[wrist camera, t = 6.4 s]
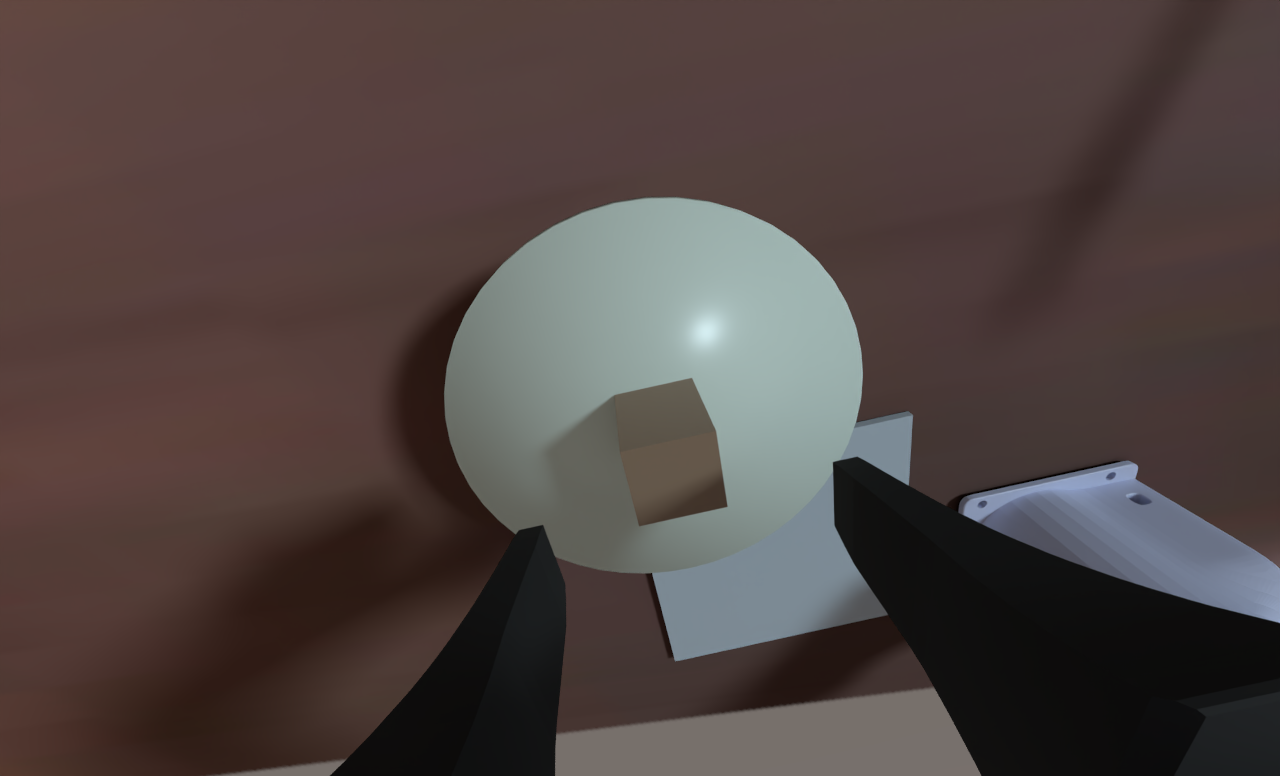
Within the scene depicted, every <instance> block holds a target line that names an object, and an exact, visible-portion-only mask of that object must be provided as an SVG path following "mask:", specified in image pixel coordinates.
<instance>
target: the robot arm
mask: <svg viewBox="0 0 1280 776" xmlns="http://www.w3.org/2000/svg"><path fill="white" fill-rule="evenodd" d="M1137 471H1138V466H1137V465H1136V464H1134V463H1132V462H1130V461H1123V462H1118V463H1114V464H1109V465H1105V466H1100V467H1095V468H1091V469H1086V470H1082V471H1077V472H1073V473H1068V474H1064V475H1059V476H1054V477H1050V478H1045V479H1041V480H1036V481H1032V482H1027V483H1022V484H1018V485H1013V486H1009V487H1004V488H1000V489H995V490H991V491H986V492H981V493H977V494H972V495H968V496H965V497H964V498H963V499H962V500H961V501H960V504H959V512H957V511H955V510H953V509H951V508H949V507H947V506H945V505H943V504H941V503H939V502H937V501H936V500H934V499H932V498H930V497H928V496H926V495H925V494H923V493H921V492H919V491H917V490H916V489H914V488H912V487H910V486H908V485H907V484H905V483H903V482H901V481H900V480H898V479H896V478H894V477H893V476H891V475H889V474H888V473H886V472H884V471H882V470H881V469H879V468H877V467H875V466H874V465H872V464H870V463H868V462H867V461H865V460H863V459H861V458H859V457H853V458H848V459H844V460H839V461H835V462H833V490H834V526H835V528H836V530H837V532H838V534H839V536H840V538H841V540H842V542H843V544H844V546H845V548H846V550H847V552H848V554H849V556H850V558H851V559H852V561H853V563H854V565H855V566H856V568H857V569H858V571H859V572H860V574H861V575H862V577H863V578H864V580H865V581H866V583H867V584H868V586H869V587H870V589H871V590H872V592H873V593H874V595H875V596H876V598H877V599H878V601H879V602H880V603H881V605H882V606H883V608H884V609H885V611H886V612H887V614H888V615H889V617H890V618H891V620H892V621H893V623H894V624H895V625H896V627H897V628H898V630H899V631H900V633H901V634H902V636H903V637H904V639H905V640H906V642H907V643H908V645H909V646H910V647H911V649H912V651H913V652H914V654H915V655H916V657H917V659H918V660H919V662H920V663H921V665H922V667H923V668H924V670H925V672H926V673H927V675H928V677H929V679H930V681H931V682H932V684H933V686H934V688H935V690H936V691H937V693H938V695H939V697H940V698H941V700H942V702H943V704H944V706H945V708H946V709H947V711H948V713H949V715H950V717H951V718H952V720H953V722H954V724H955V726H956V728H957V730H958V732H959V734H960V736H961V737H962V739H963V741H964V743H965V745H966V747H967V749H968V751H969V752H970V754H971V756H972V758H973V760H974V762H975V764H976V766H977V768H978V770H979V772H980V774H981V776H1280V568H1279V567H1277V566H1276V565H1275V564H1274V563H1272V562H1271V561H1270V560H1269V559H1267V558H1266V557H1264V556H1263V555H1261V554H1260V553H1258V552H1257V551H1255V550H1253V549H1252V548H1250V547H1248V546H1247V545H1245V544H1243V543H1242V542H1240V541H1238V540H1237V539H1235V538H1233V537H1232V536H1230V535H1228V534H1227V533H1225V532H1223V531H1222V530H1220V529H1218V528H1216V527H1215V526H1213V525H1211V524H1210V523H1208V522H1206V521H1205V520H1203V519H1201V518H1200V517H1198V516H1196V515H1195V514H1193V513H1191V512H1190V511H1188V510H1186V509H1184V508H1183V507H1181V506H1179V505H1178V504H1176V503H1174V502H1173V501H1171V500H1169V499H1168V498H1166V497H1164V496H1163V495H1161V494H1159V493H1158V492H1156V491H1154V490H1153V489H1151V488H1149V487H1147V486H1146V485H1144V484H1142V483H1141V482H1139V481H1137V480H1136V479H1135V477H1136V474H1137ZM565 633H566V593H565V582H564V579H563V577H562V574H561V571H560V569H559V566H558V563H557V561H556V558H555V555H554V553H553V550H552V547H551V545H550V542H549V539H548V537H547V534H546V531H545V529H544V526H543V525H540V526H535V527H531V528H526V529H521V530H519V531H518V532H517V533H516V535H515V537H514V538H513V540H512V542H511V543H510V545H509V547H508V548H507V550H506V552H505V554H504V555H503V557H502V559H501V561H500V562H499V564H498V566H497V567H496V569H495V571H494V572H493V574H492V576H491V577H490V579H489V581H488V582H487V584H486V585H485V587H484V589H483V590H482V592H481V593H480V595H479V597H478V598H477V600H476V601H475V603H474V605H473V606H472V608H471V609H470V611H469V612H468V614H467V615H466V617H465V618H464V620H463V621H462V623H461V624H460V625H459V627H458V628H457V630H456V631H455V633H454V634H453V636H452V637H451V639H450V640H449V641H448V643H447V644H446V646H445V647H444V648H443V650H442V651H441V652H440V654H439V655H438V656H437V658H436V659H435V660H434V662H433V663H432V664H431V666H430V667H429V668H428V669H427V671H426V672H425V673H424V674H423V676H422V677H421V678H420V679H419V681H418V682H417V683H416V684H415V685H414V687H413V688H412V689H411V690H410V691H409V693H408V694H407V695H406V696H405V697H404V698H403V699H402V700H401V702H400V703H399V704H398V705H397V706H396V707H395V708H394V709H393V710H392V712H391V713H390V714H389V715H388V716H387V717H386V718H385V719H384V720H383V722H382V723H381V724H380V725H379V726H378V727H377V728H376V729H375V730H374V732H373V733H372V734H371V735H370V736H369V737H368V738H367V739H366V740H365V741H364V742H363V743H362V744H361V745H360V746H359V747H358V748H357V749H356V750H355V751H354V752H353V753H352V754H351V755H350V757H349V758H348V759H347V760H346V761H345V762H344V763H343V764H342V765H341V766H340V767H338V768H337V769H336V770H335V771H334V772H333V773H332V774H331V775H330V776H555V743H556V727H557V715H558V705H559V695H560V685H561V675H562V665H563V654H564V644H565Z"/></svg>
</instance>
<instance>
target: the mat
mask: <svg viewBox="0 0 1280 776" xmlns="http://www.w3.org/2000/svg"><path fill="white" fill-rule="evenodd" d="M912 421H913V415H912V414H911V413H910V412H908V411H907V412H902V413H898V414H893V415H888V416H884V417H879V418H875V419H870V420H866V421H861V422H857V423H855V426H854V429H853V432H852V434H851V437H850V440H849V443H848V445H847V447H846V449H845V451H844V453H843V455H842V457H841V459H840V460H844V459H848V458H853V457H859V458H861V459H863V460H865V461H867V462H868V463H870V464H872V465H874V466H875V467H877V468H879V469H881V470H882V471H884V472H886V473H888V474H889V475H891V476H893V477H894V478H896V479H898V480H900V481H901V482H903V483H905V484H907V485H908V486H909V470H910V454H911V437H912ZM652 575H653V579H654V582H655V586H656V590H657V594H658V598H659V602H660V605H661V609H662V613H663V617H664V621H665V624H666V628H667V632H668V636H669V640H670V644H671V647H672V651H673V655H674V659H675V661H679V660H684V659H688V658H693V657H697V656H702V655H707V654H711V653H716V652H720V651H725V650H730V649H734V648H739V647H743V646H748V645H752V644H757V643H762V642H766V641H771V640H775V639H780V638H785V637H789V636H794V635H798V634H803V633H807V632H812V631H817V630H821V629H826V628H830V627H835V626H839V625H844V624H849V623H853V622H858V621H862V620H867V619H872V618H876V617H881V616H885V615H888V614H887V612H886V611H885V609H884V608H883V606H882V605H881V603H880V602H879V601H878V599H877V598H876V596H875V595H874V593H873V592H872V590H871V589H870V587H869V586H868V584H867V583H866V581H865V580H864V578H863V577H862V575H861V574H860V572H859V571H858V569H857V568H856V566H855V565H854V563H853V561H852V559H851V558H850V556H849V554H848V552H847V550H846V548H845V546H844V544H843V542H842V540H841V538H840V536H839V534H838V532H837V530H836V528H835V526H834V490H833V472H832V474H831V475H830V477H829V478H828V480H827V481H826V483H825V484H824V485H823V487H822V488H821V489H820V490H819V491H818V493H817V494H816V495H815V496H814V497H813V498H812V500H811V501H810V502H809V503H808V504H807V505H806V506H805V507H804V508H803V509H802V510H801V511H799V512H798V513H797V514H796V515H795V516H794V517H793V518H792V519H791V520H789V521H788V522H787V523H785V524H784V525H783V526H781V527H780V528H779V529H778V530H776V531H775V532H773V533H772V534H770V535H769V536H767V537H765V538H764V539H762V540H760V541H759V542H757V543H756V544H754V545H752V546H750V547H748V548H746V549H744V550H742V551H739V552H737V553H735V554H733V555H730V556H728V557H725V558H722V559H720V560H717V561H714V562H711V563H707V564H704V565H700V566H696V567H693V568H687V569H682V570H676V571H670V572H657V573H652Z"/></svg>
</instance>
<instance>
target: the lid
mask: <svg viewBox="0 0 1280 776" xmlns="http://www.w3.org/2000/svg"><path fill="white" fill-rule="evenodd" d="M862 379H863V371H862V356H861V348H860V343H859V339H858V334H857V330H856V326H855V323H854V321H853V318H852V316H851V313H850V310H849V308H848V305H847V303H846V301H845V299H844V298H843V296H842V294H841V293H840V291H839V289H838V287H837V286H836V284H835V282H834V280H833V279H832V278H831V277H830V275H829V274H828V273H827V272H826V271H825V269H824V268H823V267H822V266H821V264H820V263H819V262H818V261H817V260H816V259H815V258H814V257H813V256H812V255H811V254H810V253H809V252H808V251H807V250H805V249H804V248H803V247H802V246H801V245H800V244H799V243H798V242H797V241H795V240H794V239H792V238H791V237H789V236H788V235H786V234H785V233H783V232H782V231H780V230H779V229H777V228H775V227H774V226H772V225H771V224H769V223H767V222H764V221H762V220H760V219H758V218H756V217H753V216H751V215H749V214H747V213H745V212H742V211H740V210H737V209H734V208H730V207H727V206H723V205H720V204H716V203H713V202H709V201H705V200H697V199H690V198H682V197H641V198H634V199H628V200H621V201H615V202H611V203H607V204H604V205H601V206H597V207H594V208H591V209H587V210H584V211H581V212H579V213H577V214H575V215H573V216H571V217H568V218H566V219H564V220H562V221H560V222H557V223H555V224H554V225H552V226H550V227H549V228H547V229H546V230H544V231H543V232H541V233H539V234H538V235H536V236H535V237H533V238H532V239H530V240H529V241H527V242H526V243H525V244H524V245H523V246H522V247H520V248H519V249H518V250H517V251H516V252H515V253H514V254H512V255H511V256H510V257H509V258H508V259H507V260H506V261H505V262H504V263H503V264H502V265H501V266H500V268H499V269H498V270H497V271H496V272H495V273H494V274H493V276H492V277H491V278H490V279H489V280H488V281H487V283H486V284H485V285H484V286H483V287H482V289H481V290H480V292H479V293H478V295H477V296H476V298H475V300H474V301H473V303H472V304H471V306H470V307H469V309H468V311H467V312H466V314H465V316H464V318H463V321H462V323H461V325H460V327H459V330H458V332H457V334H456V336H455V339H454V342H453V345H452V349H451V353H450V357H449V360H448V364H447V370H446V379H445V389H444V402H445V419H446V424H447V429H448V434H449V439H450V443H451V446H452V449H453V451H454V454H455V457H456V460H457V462H458V465H459V467H460V469H461V471H462V473H463V474H464V476H465V478H466V480H467V482H468V484H469V486H470V487H471V488H472V490H473V491H474V492H475V494H476V495H477V497H478V498H479V499H480V501H481V502H482V503H483V505H484V506H485V507H486V508H487V509H488V510H489V511H490V512H491V513H492V514H493V515H494V516H495V517H496V518H497V519H498V520H499V521H500V522H501V523H502V524H503V525H505V526H506V527H507V528H508V529H510V530H511V531H512V532H513V533H515V534H516V533H517V532H518V531H519V530H521V529H526V528H531V527H535V526H540V525H543V526H544V529H545V531H546V534H547V537H548V539H549V542H550V545H551V547H552V550H553V553H554V555H555V557H557V558H560V559H563V560H566V561H569V562H572V563H575V564H578V565H581V566H586V567H590V568H594V569H599V570H605V571H613V572H621V573H657V572H670V571H676V570H682V569H687V568H693V567H696V566H700V565H704V564H707V563H711V562H714V561H717V560H720V559H722V558H725V557H728V556H730V555H733V554H735V553H737V552H739V551H742V550H744V549H746V548H748V547H750V546H752V545H754V544H756V543H757V542H759V541H760V540H762V539H764V538H765V537H767V536H769V535H770V534H772V533H773V532H775V531H776V530H778V529H779V528H780V527H781V526H783V525H784V524H785V523H787V522H788V521H789V520H791V519H792V518H793V517H794V516H795V515H796V514H797V513H798V512H799V511H801V510H802V509H803V508H804V507H805V506H806V505H807V504H808V503H809V502H810V501H811V500H812V498H813V497H814V496H815V495H816V494H817V493H818V491H819V490H820V489H821V488H822V487H823V485H824V484H825V483H826V481H827V480H828V478H829V477H830V475H831V474H832V472H833V462H835V461H839V460H840V459H841V457H842V455H843V453H844V451H845V449H846V447H847V445H848V443H849V440H850V437H851V434H852V432H853V429H854V426H855V423H856V420H857V415H858V410H859V406H860V401H861V392H862Z"/></svg>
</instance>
